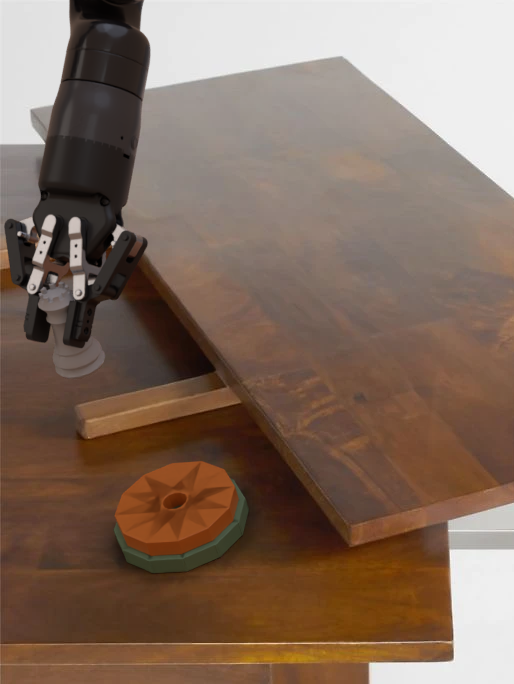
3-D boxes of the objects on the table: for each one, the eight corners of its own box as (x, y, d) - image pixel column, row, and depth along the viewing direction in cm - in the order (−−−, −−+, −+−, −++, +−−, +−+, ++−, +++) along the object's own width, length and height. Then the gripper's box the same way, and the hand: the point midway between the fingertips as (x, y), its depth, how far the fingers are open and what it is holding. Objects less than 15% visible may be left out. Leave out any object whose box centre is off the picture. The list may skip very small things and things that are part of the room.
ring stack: (106, 576, 115) (95, 550, 113) (136, 487, 123) (127, 462, 122) (234, 569, 113) (226, 542, 111) (257, 479, 122) (249, 453, 120)
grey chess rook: (80, 387, 118) (51, 310, 113) (46, 374, 120) (16, 298, 116) (117, 358, 121) (90, 282, 116) (83, 346, 123) (55, 270, 118)
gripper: (-3, 127, 117) (-41, 327, 116) (135, 136, 112) (96, 346, 110) (52, 152, 124) (16, 341, 123) (185, 162, 118) (148, 360, 117)
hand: (54, 342), depth 117 cm, fingers closed on grey chess rook, 3 cm apart
